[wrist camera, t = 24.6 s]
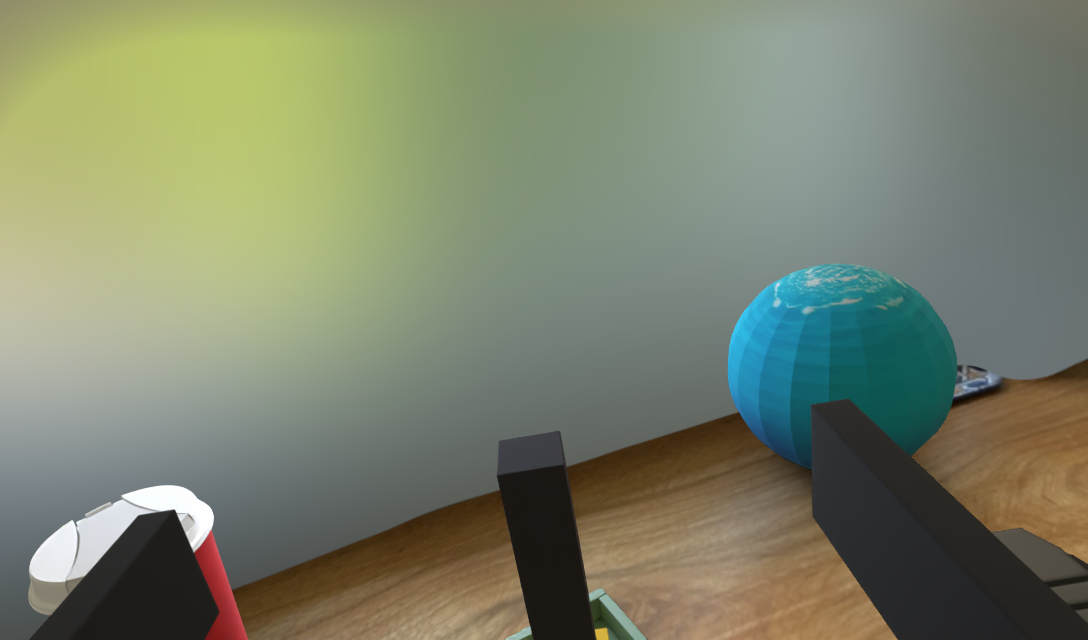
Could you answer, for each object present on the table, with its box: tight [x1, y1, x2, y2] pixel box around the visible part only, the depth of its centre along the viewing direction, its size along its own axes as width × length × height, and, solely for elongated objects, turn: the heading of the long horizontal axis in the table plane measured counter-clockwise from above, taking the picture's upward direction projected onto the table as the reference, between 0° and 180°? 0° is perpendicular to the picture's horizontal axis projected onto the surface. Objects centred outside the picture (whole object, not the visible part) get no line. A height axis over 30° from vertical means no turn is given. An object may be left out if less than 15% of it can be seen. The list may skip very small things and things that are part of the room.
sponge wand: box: [497, 431, 609, 640], centre depth 26 cm, size 4×6×17 cm, turn 2°
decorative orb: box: [728, 264, 957, 470], centre depth 46 cm, size 15×15×15 cm
